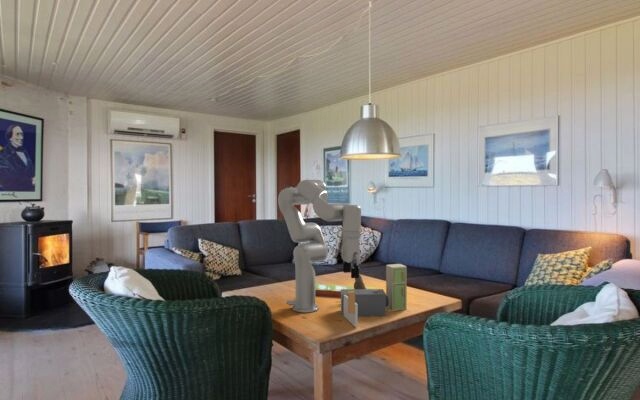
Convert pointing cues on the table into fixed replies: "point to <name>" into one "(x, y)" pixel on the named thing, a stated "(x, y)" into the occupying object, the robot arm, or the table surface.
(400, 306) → the toy refrigerator
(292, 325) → the table surface
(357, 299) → the grey toy microwave
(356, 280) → the brown carved statuette
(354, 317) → the side door
